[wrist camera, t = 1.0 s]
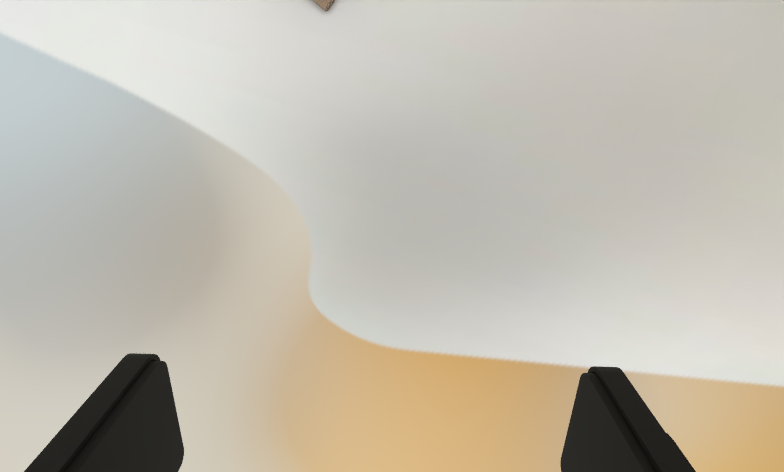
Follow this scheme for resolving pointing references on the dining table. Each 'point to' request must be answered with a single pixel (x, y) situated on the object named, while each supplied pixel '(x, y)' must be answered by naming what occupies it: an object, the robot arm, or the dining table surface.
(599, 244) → the dining table surface
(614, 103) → the dining table surface
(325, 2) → the floor board
